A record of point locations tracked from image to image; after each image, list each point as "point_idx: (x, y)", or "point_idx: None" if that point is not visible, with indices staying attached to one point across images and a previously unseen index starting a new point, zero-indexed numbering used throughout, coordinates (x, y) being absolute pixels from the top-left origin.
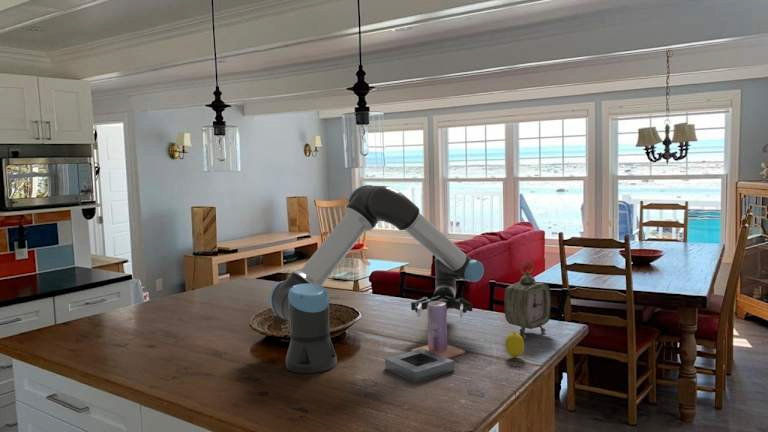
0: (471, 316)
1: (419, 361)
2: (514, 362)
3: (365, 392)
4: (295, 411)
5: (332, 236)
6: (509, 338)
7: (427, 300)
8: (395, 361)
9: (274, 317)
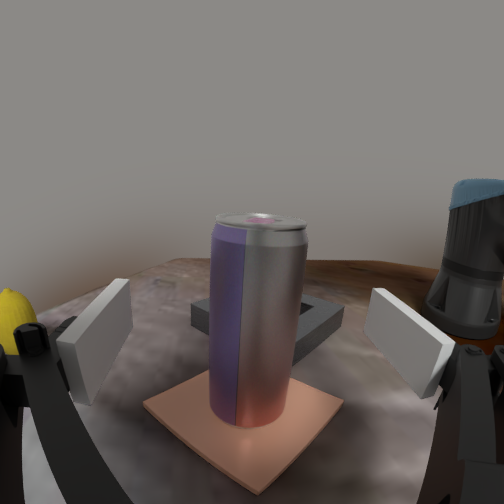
0: None
1: None
2: None
3: (319, 284)
4: (359, 267)
5: None
6: (27, 299)
7: (493, 434)
8: (316, 300)
9: None
